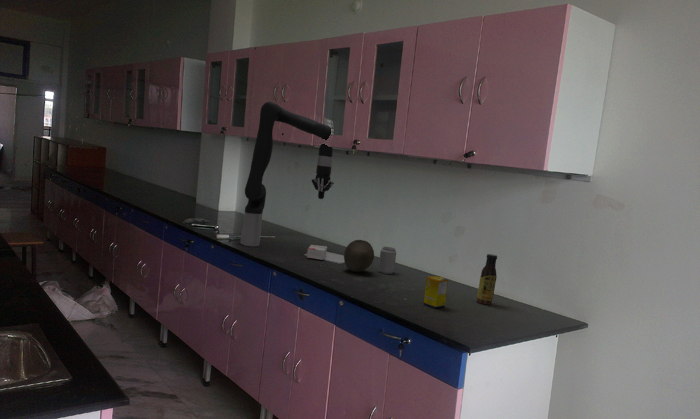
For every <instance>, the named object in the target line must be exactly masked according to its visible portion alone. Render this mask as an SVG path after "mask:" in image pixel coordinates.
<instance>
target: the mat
mask: <svg viewBox="0 0 700 419" xmlns="http://www.w3.org/2000/svg"><path fill="white" fill-rule="evenodd" d="M303 256H305V257H307V253H305V254H303ZM322 261H326V262H329V263H330V262H331V263H335V264H338V265H339V264H340V265H342V264H345V261H344V254H343V255H342V254H338V253H336V252H335V253H334V252H330V251H327V253H326V256H325V258H324V259H323V260H322Z"/></svg>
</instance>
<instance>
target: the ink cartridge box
mask: <svg viewBox="0 0 700 419" xmlns="http://www.w3.org/2000/svg"><path fill="white" fill-rule="evenodd" d="M327 250H328V246H325V245H319V244H318V245H316V244H310V245H309V247H308V248H307V250H306V254H307V256H306V258H308V259H314V260H322V261H324V260H323V259H324V258H325V256H326V253H327V252H328V251H327Z"/></svg>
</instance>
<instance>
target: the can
mask: <svg viewBox="0 0 700 419" xmlns="http://www.w3.org/2000/svg"><path fill="white" fill-rule="evenodd" d="M379 254H380V255H379V263H378V268H377V269H378V271H379V273H380V274H385V275H392V274H394V273H395V265H396V259H397V258H396V257H397V251H396V248H395V247H390V246H382V247H381V249H380V253H379Z"/></svg>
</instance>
